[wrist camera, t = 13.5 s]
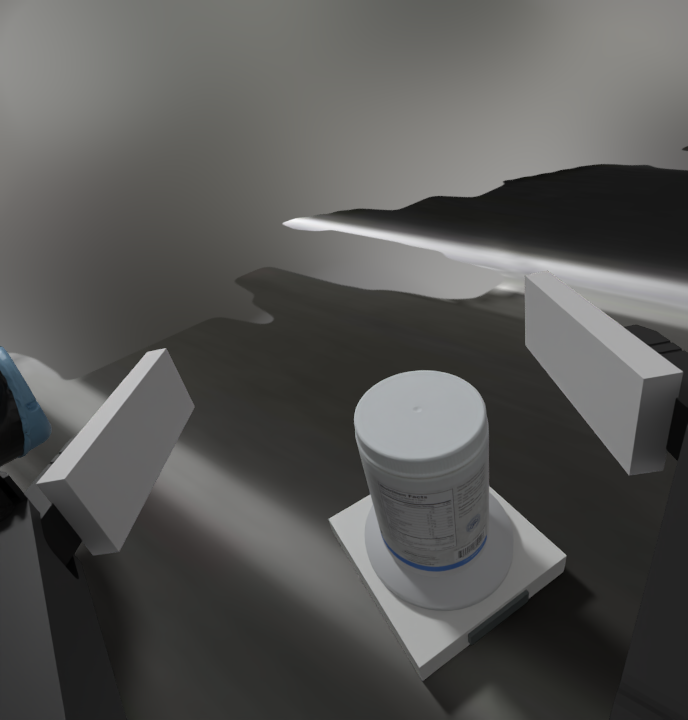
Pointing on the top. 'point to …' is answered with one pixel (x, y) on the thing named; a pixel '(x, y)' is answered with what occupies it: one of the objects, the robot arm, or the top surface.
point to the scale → (449, 582)
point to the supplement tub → (427, 469)
